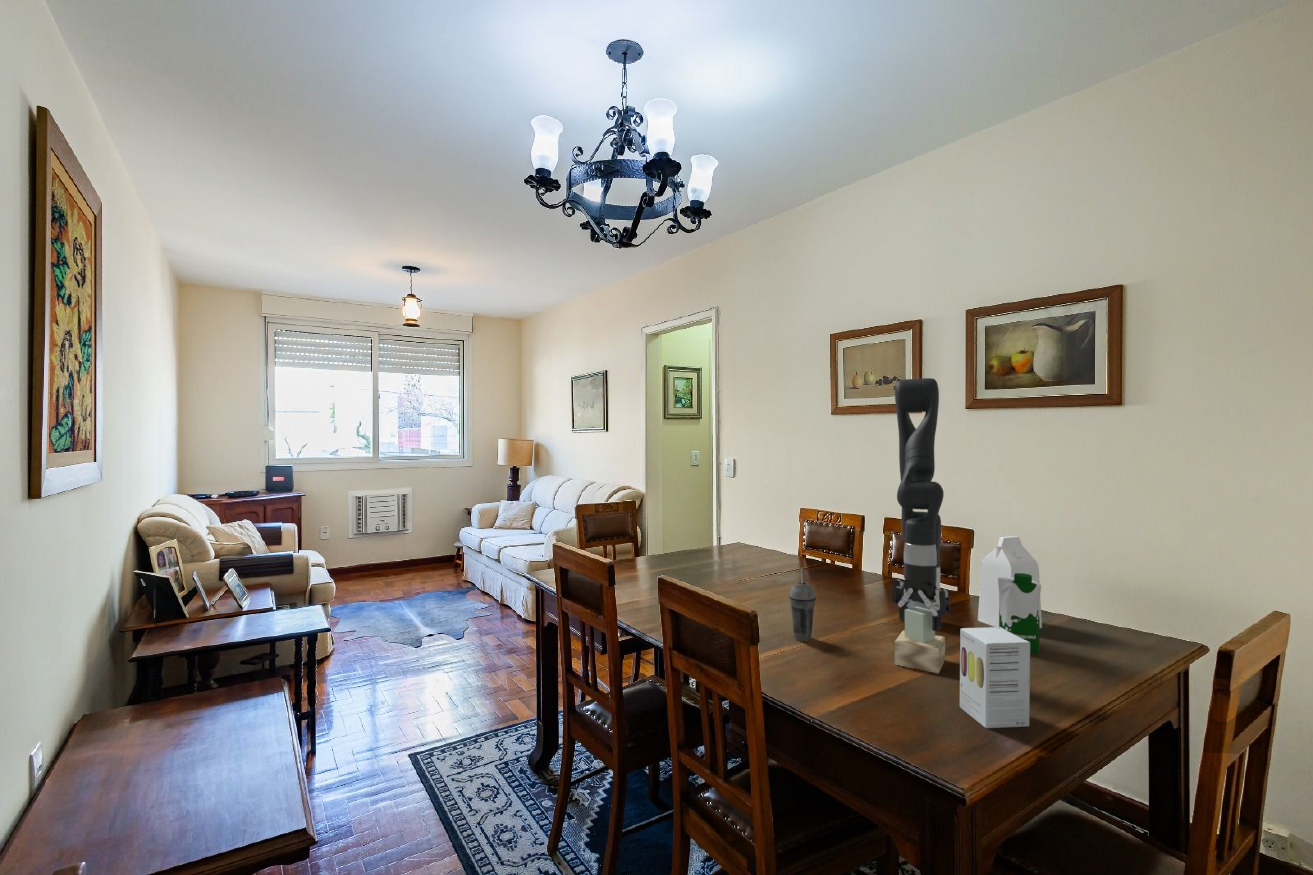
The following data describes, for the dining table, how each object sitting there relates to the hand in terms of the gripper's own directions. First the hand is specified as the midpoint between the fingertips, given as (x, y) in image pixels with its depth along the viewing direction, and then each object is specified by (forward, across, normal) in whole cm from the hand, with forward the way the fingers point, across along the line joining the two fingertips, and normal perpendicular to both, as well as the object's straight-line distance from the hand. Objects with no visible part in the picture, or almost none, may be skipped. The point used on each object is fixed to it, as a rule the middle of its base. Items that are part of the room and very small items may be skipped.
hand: (919, 626), depth 154 cm
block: (+3, 0, 0) cm, 3 cm away
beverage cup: (+9, -29, -10) cm, 32 cm away
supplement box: (+9, +25, -15) cm, 31 cm away
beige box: (+9, 0, 0) cm, 9 cm away
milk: (+9, -1, +49) cm, 50 cm away
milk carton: (+9, +10, +30) cm, 33 cm away
